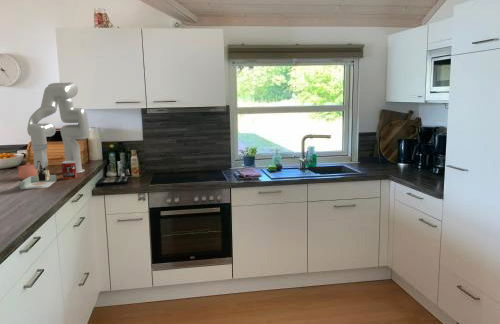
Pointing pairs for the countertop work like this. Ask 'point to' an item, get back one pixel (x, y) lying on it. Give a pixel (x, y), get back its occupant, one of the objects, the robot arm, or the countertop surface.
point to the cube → (45, 175)
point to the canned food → (69, 170)
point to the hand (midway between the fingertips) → (43, 179)
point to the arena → (36, 182)
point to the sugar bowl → (26, 171)
